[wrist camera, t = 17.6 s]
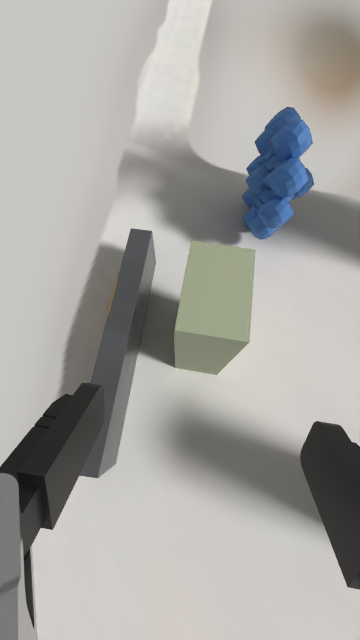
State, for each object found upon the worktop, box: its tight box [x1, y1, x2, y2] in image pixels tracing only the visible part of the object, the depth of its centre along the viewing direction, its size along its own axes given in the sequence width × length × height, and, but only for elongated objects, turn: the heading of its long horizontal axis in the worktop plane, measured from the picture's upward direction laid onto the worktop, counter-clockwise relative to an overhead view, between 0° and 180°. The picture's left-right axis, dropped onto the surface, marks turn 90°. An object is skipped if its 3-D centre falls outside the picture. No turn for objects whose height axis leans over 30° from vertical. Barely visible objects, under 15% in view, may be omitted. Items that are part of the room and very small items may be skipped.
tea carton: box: [174, 240, 255, 375], centre depth 19 cm, size 4×6×11 cm
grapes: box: [242, 107, 314, 239], centre depth 24 cm, size 12×7×12 cm, turn 177°
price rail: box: [80, 229, 156, 478], centre depth 22 cm, size 20×2×5 cm, turn 172°
